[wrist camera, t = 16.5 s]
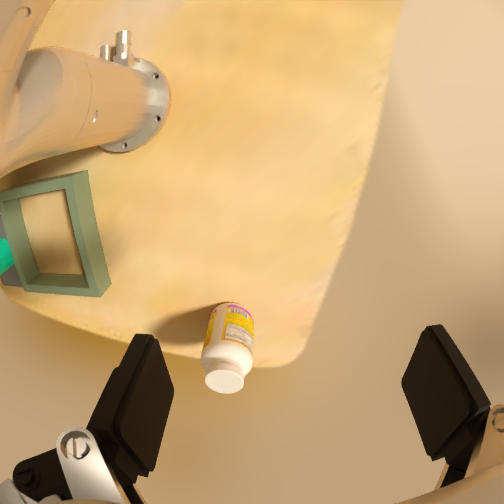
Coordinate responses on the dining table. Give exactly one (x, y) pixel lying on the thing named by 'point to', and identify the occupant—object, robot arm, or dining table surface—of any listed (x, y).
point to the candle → (5, 256)
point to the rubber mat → (11, 274)
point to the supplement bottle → (228, 347)
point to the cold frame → (83, 230)
